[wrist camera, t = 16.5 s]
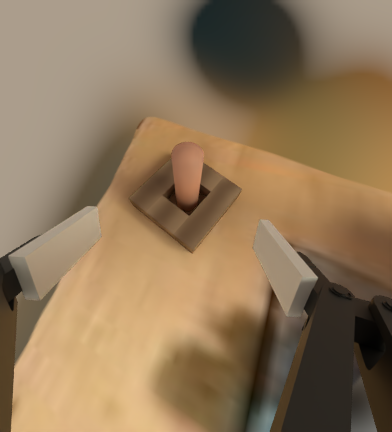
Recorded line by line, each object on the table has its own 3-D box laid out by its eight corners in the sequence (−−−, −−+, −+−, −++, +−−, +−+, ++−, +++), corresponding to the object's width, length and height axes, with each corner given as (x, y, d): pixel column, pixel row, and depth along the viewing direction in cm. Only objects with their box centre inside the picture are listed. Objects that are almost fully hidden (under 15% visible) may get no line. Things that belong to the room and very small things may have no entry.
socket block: (237, 196, 35) (242, 189, 32) (192, 253, 31) (193, 250, 28) (182, 158, 38) (182, 148, 35) (133, 205, 33) (128, 197, 31)
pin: (201, 200, 35) (210, 153, 22) (188, 215, 33) (190, 174, 21) (185, 188, 35) (185, 136, 23) (172, 202, 34) (164, 156, 22)
